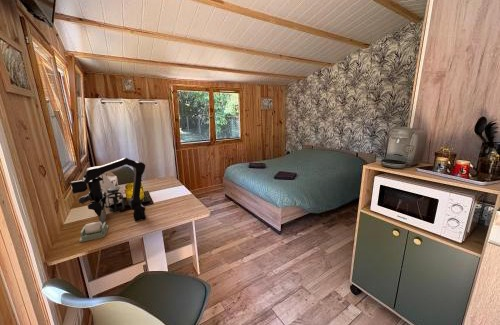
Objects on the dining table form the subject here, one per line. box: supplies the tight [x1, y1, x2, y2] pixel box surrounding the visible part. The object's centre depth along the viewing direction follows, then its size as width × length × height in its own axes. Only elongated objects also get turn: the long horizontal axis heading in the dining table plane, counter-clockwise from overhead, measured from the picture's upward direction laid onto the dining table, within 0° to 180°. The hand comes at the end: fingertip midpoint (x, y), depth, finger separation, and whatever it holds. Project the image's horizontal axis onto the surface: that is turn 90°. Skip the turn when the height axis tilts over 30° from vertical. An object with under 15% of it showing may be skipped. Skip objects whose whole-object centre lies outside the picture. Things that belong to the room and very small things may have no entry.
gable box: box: [100, 170, 120, 207], centre depth 171 cm, size 22×13×28 cm, turn 27°
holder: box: [78, 221, 110, 243], centre depth 126 cm, size 12×13×4 cm
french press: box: [104, 180, 125, 213], centre depth 155 cm, size 12×9×23 cm
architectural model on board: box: [98, 206, 107, 224], centre depth 143 cm, size 11×3×10 cm, turn 27°
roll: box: [84, 221, 103, 234], centre depth 125 cm, size 7×6×6 cm
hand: (101, 213), depth 127 cm, fingers open, 9 cm apart
